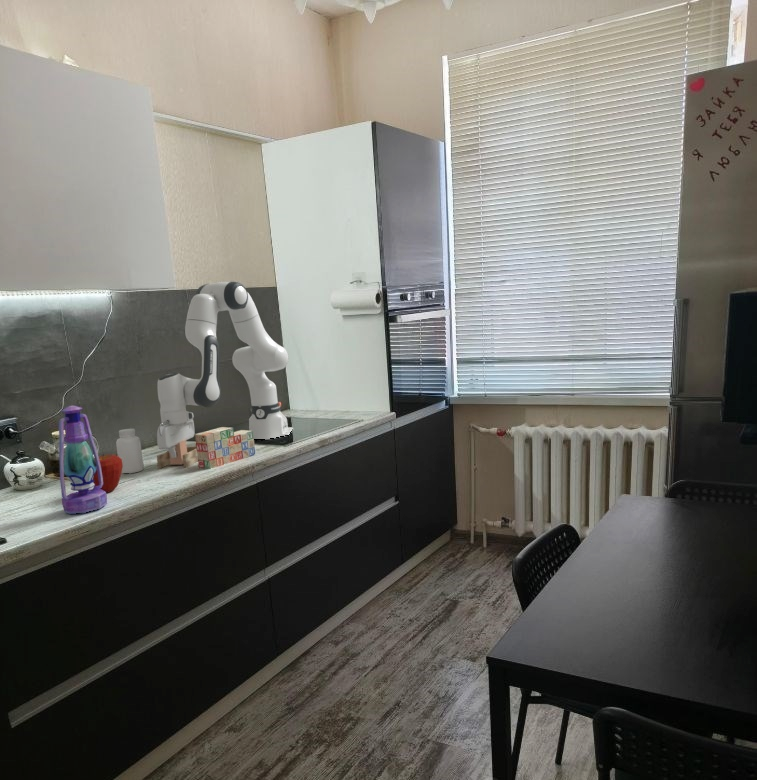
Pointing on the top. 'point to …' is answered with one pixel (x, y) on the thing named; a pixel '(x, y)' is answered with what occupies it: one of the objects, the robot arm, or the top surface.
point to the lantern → (79, 464)
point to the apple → (109, 472)
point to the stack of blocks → (223, 446)
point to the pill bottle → (129, 451)
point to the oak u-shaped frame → (188, 458)
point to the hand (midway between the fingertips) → (178, 455)
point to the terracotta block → (179, 453)
